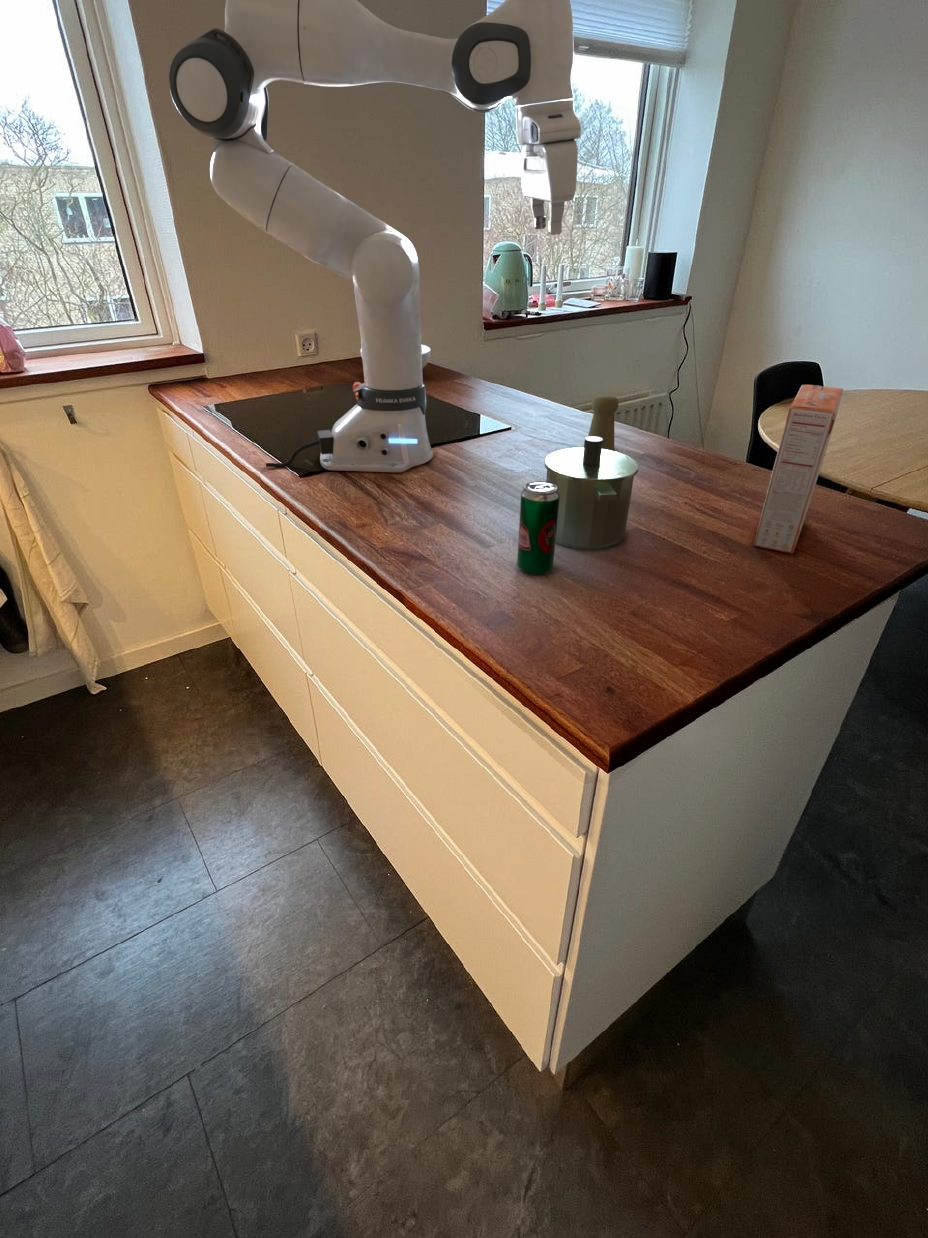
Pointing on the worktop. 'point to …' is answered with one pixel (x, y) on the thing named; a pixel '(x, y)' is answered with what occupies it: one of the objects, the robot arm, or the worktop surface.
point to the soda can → (537, 527)
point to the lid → (591, 463)
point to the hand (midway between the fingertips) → (547, 231)
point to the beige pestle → (604, 419)
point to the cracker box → (797, 466)
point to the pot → (591, 512)
